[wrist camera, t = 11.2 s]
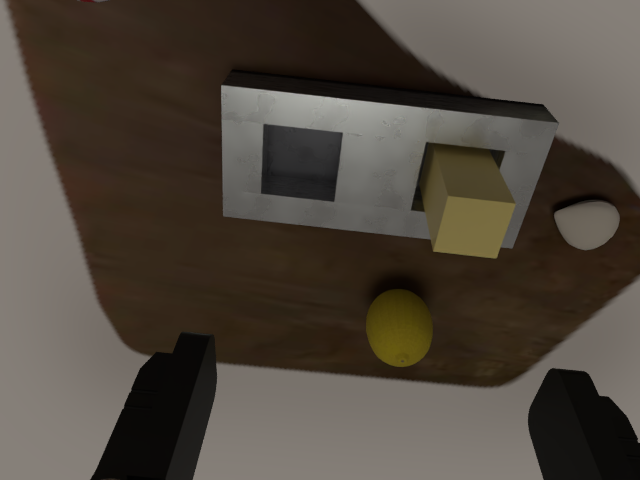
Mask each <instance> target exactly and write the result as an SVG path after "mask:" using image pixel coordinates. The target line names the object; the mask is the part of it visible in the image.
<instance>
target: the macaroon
mask: <svg viewBox="0 0 640 480" xmlns="http://www.w3.org/2000/svg"><path fill="white" fill-rule="evenodd" d="M554 218H555V221H556V224H557V226H558V229H559V231H560V232H561V234H562V236H563V237H564V239H565V240H566V241H567V242H568V243H569V244H570V245H572V246H574V247H576V248H578V249H582V250H590V249H594V248H597V247H599V246H601V245H603V244H605V243H606V242H607V241H608V240H609V239H610V238H611V237H613V235H614V233H615V231H616V230H617V228H618V225H619V220H620V218H619V213H618V211H617V209H616V208H615V207H614V206H613V204H611V203H609V202H607V201H603V200H585V201H582V202H578V203H576V204H573V205H571V206H568V207H566V208H564V209H561V210H558V211H556V212H555V213H554Z"/></svg>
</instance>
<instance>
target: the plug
mask: <svg viewBox="0 0 640 480" xmlns="http://www.w3.org/2000/svg"><path fill="white" fill-rule="evenodd" d="M419 185H420V190H421V195H422V200H423V205H424V209H425V214H426V219H427V224H428V229H429V233H430V238H431V243H432V248H433V251H435V252H444V253H452V254H461V255H470V256H479V257H487V258H497V256H498V253H499V250H500V247H501V244H502V242H503V239H504V236H505V233H506V230H507V228H508V225H509V222H510V219H511V217H512V214H513V211H514V208H515V205H516V203H515V201H514V199H513V197H512V195H511V193H510V191H509V189H508V187H507V185H506V183H505V181H504V179H503V177H502V175H501V173H500V171H499V169H498V167H497V165H496V163H495V161H494V159H493V157H492V155H491V153H490V151H489V149H485V148H476V147H467V146H458V145H449V144H440V143H431V142H429V143H428V148H427V152H426V156H425V161H424V165H423V170H422V174H421V178H420V183H419Z"/></svg>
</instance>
